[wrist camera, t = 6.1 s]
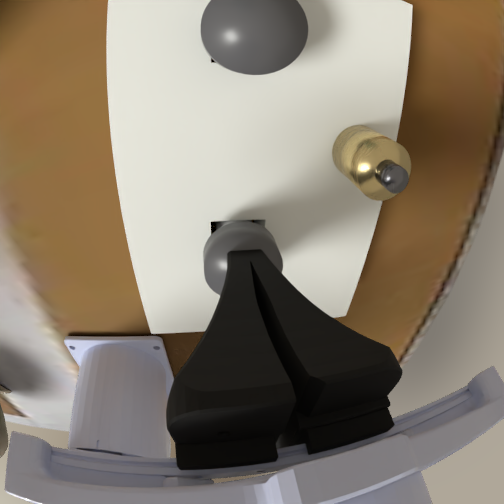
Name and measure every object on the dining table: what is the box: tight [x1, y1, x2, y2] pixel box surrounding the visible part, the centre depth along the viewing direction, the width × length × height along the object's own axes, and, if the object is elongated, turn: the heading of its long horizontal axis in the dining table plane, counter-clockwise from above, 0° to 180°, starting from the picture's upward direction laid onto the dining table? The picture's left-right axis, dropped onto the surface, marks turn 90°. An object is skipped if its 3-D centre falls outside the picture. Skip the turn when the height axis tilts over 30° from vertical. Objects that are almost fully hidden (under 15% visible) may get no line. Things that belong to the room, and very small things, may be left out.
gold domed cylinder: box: [332, 125, 411, 201], centre depth 11 cm, size 2×2×3 cm
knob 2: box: [203, 220, 283, 295], centre depth 14 cm, size 3×3×4 cm
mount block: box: [107, 0, 413, 334], centre depth 13 cm, size 18×12×2 cm, turn 177°
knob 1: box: [201, 0, 308, 75], centre depth 9 cm, size 3×3×4 cm
